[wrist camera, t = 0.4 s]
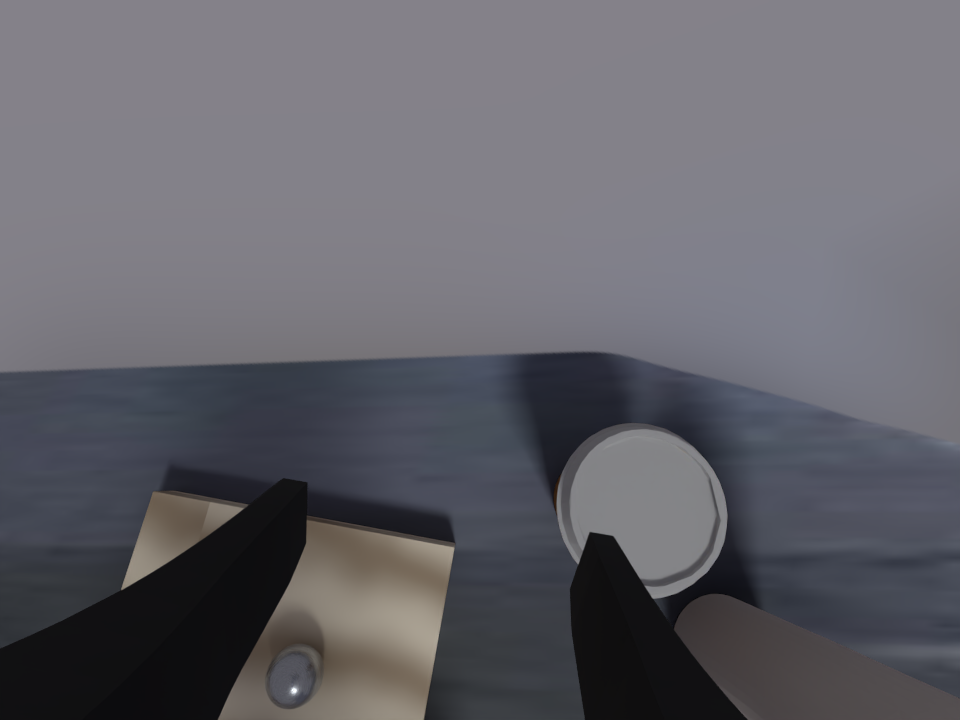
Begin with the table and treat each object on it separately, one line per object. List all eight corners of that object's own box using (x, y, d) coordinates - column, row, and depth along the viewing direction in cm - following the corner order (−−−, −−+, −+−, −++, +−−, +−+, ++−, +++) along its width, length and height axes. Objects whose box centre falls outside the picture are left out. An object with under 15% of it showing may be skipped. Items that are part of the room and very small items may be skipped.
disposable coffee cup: (633, 585, 36) (709, 635, 25) (514, 535, 37) (535, 560, 26) (669, 465, 39) (755, 458, 27) (556, 419, 39) (593, 394, 28)
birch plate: (405, 823, 33) (400, 851, 30) (88, 760, 33) (58, 782, 31) (455, 543, 37) (454, 547, 34) (173, 490, 37) (153, 491, 35)
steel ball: (323, 699, 32) (305, 725, 29) (271, 689, 32) (248, 714, 29) (336, 641, 33) (320, 660, 30) (285, 631, 33) (264, 649, 30)
